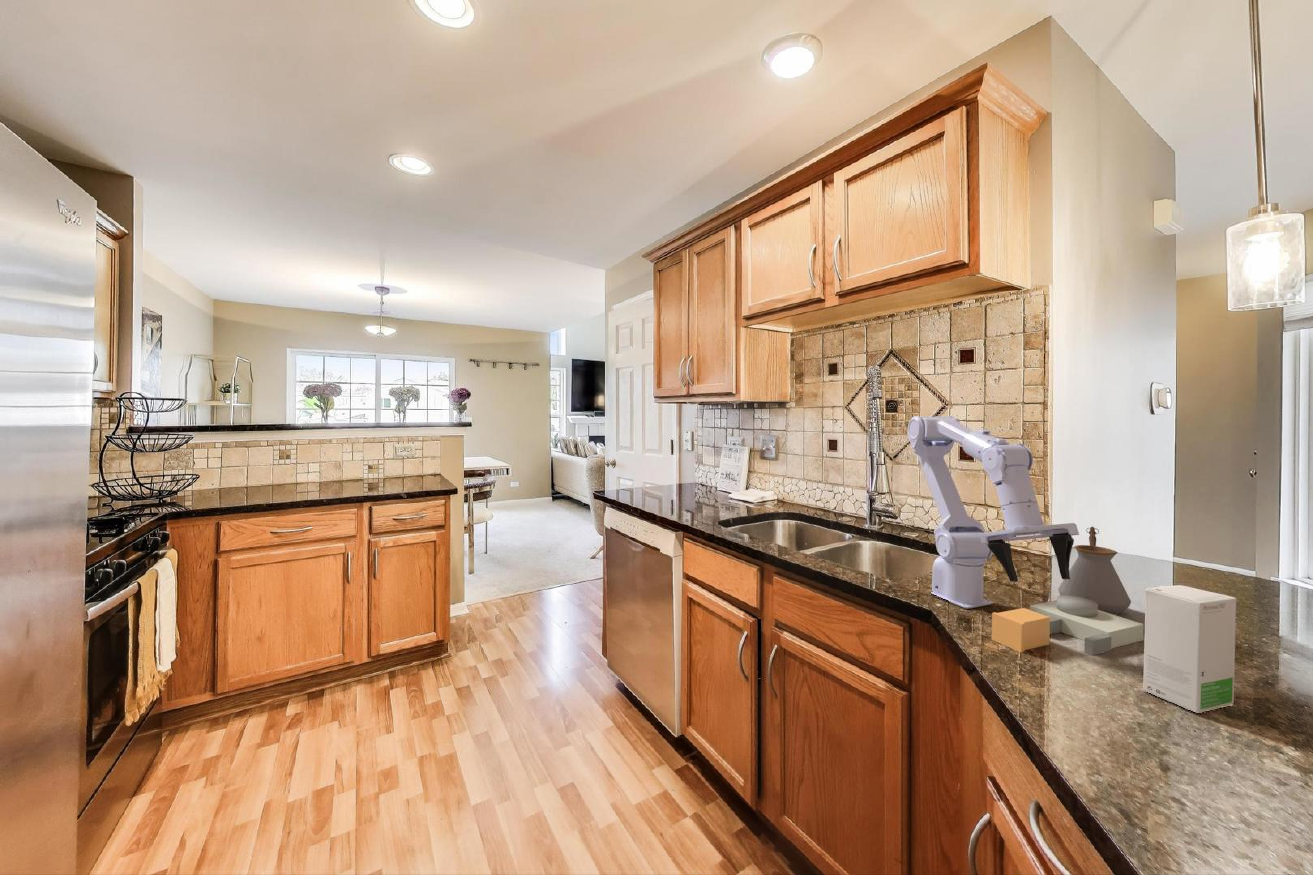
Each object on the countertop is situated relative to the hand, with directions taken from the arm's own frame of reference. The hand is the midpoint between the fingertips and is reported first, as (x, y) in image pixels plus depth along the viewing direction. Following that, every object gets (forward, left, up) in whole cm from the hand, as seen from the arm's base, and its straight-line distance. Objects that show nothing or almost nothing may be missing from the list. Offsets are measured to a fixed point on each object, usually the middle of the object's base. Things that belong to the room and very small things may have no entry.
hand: (1039, 580), depth 86 cm
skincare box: (+18, +2, -12) cm, 22 cm away
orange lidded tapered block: (-2, -2, -12) cm, 12 cm away
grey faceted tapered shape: (-10, +32, -12) cm, 36 cm away
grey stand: (-1, +12, -12) cm, 17 cm away
